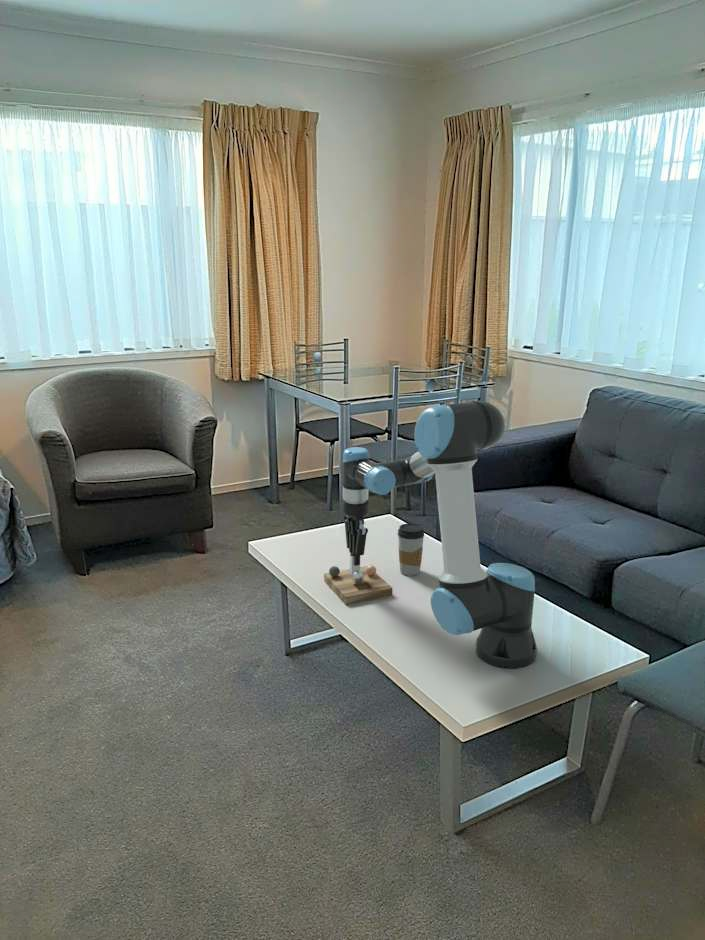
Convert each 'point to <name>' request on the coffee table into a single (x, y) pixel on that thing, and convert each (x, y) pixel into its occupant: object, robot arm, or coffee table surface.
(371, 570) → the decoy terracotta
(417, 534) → the coffee cup
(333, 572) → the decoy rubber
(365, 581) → the wooden flat board
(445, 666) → the coffee table surface
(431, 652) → the coffee table surface
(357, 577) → the steel ball
